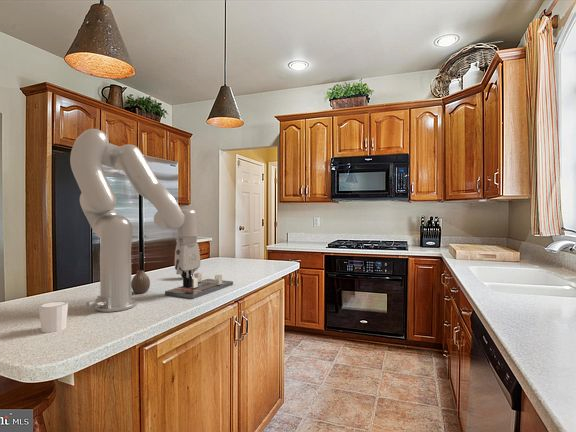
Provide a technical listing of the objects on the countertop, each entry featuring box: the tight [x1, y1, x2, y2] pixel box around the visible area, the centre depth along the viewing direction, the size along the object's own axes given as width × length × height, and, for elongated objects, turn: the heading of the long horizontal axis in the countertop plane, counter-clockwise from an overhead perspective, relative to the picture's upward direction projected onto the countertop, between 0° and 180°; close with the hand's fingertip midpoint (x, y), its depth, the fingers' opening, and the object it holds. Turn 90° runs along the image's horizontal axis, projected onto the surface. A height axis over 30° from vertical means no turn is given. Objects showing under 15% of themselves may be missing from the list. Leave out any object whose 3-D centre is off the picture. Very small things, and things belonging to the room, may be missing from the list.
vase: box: [131, 269, 151, 295], centre depth 135 cm, size 7×7×9 cm
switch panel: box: [164, 272, 234, 300], centre depth 140 cm, size 26×14×6 cm, turn 155°
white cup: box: [38, 300, 69, 334], centre depth 94 cm, size 7×7×7 cm
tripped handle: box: [190, 277, 198, 288], centre depth 136 cm, size 2×2×4 cm
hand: (187, 287), depth 132 cm, fingers closed
